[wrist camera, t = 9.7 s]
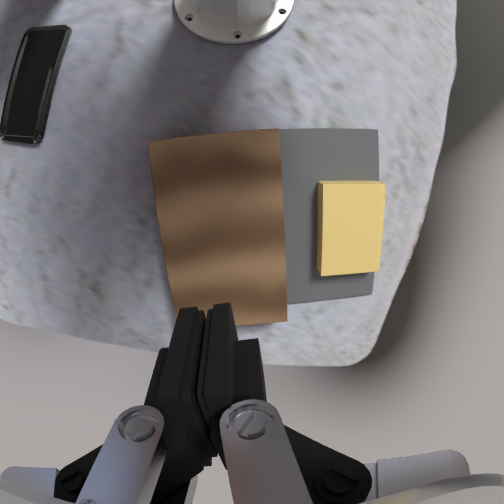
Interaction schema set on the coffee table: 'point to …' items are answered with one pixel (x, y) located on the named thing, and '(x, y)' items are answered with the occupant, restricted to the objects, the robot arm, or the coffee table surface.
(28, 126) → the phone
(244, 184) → the brown wooden block
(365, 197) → the tile
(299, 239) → the mat
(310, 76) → the coffee table surface
